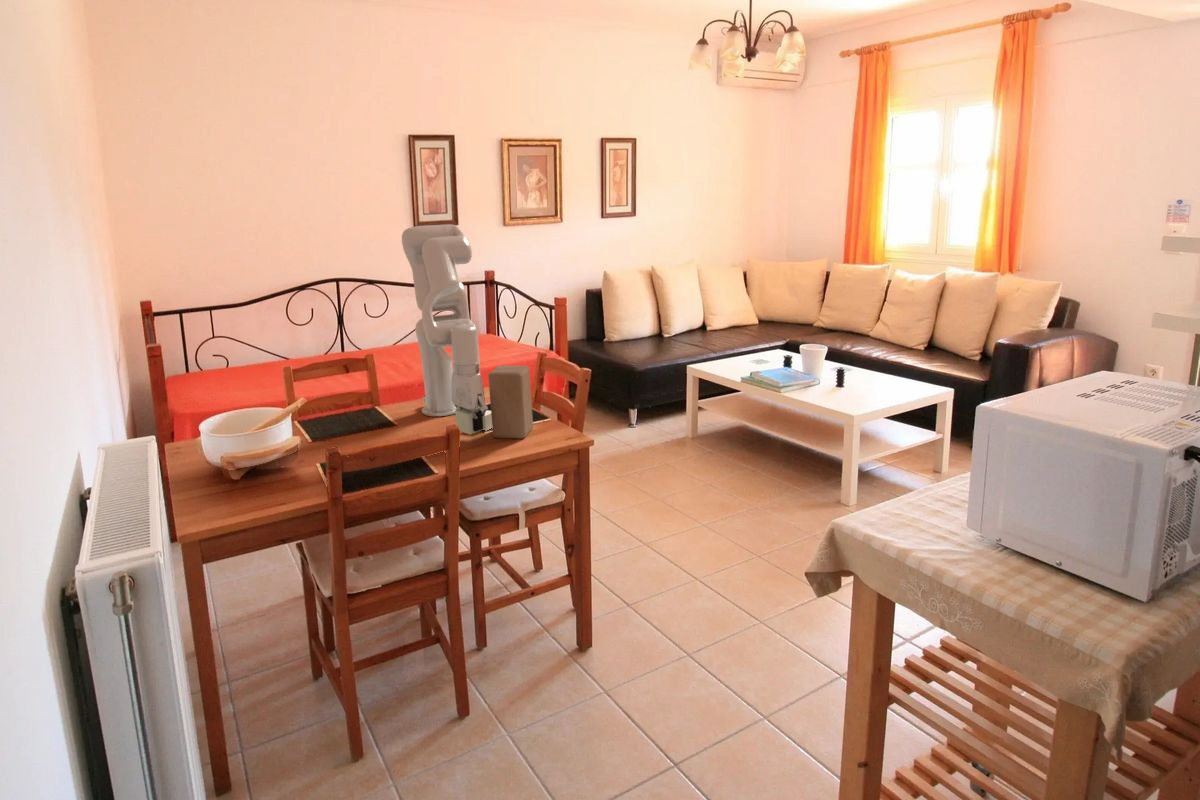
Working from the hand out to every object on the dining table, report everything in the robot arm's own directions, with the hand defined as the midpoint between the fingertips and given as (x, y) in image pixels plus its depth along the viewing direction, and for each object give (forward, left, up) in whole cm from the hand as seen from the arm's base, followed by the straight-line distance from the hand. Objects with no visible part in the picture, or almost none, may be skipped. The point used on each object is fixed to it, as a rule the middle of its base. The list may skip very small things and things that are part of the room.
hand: (471, 426), depth 220 cm
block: (+5, +12, -4) cm, 13 cm away
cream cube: (-6, +10, -4) cm, 12 cm away
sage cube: (0, 0, -1) cm, 1 cm away
